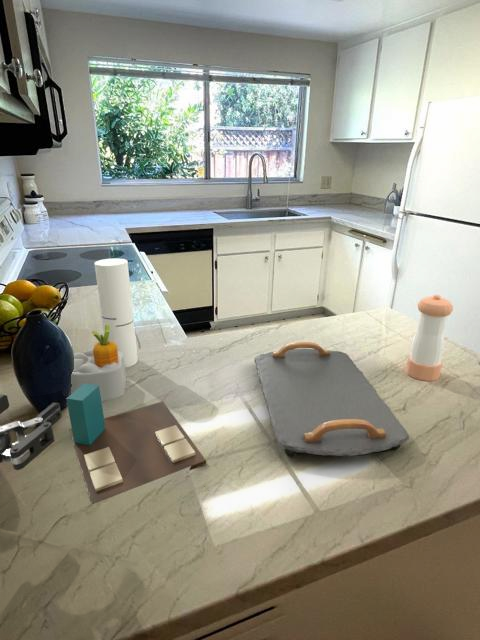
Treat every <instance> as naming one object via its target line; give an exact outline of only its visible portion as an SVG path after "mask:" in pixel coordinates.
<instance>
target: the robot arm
mask: <svg viewBox="0 0 480 640" xmlns="http://www.w3.org/2000/svg"><path fill="white" fill-rule="evenodd" d="M9 408H10V402H9V397H8V395H6V394H0V415H1V414H3V413H4V412H6V411H7V410H8V409H9ZM62 416H63V415H62V410H61V404H60V402H51V404H50V405H48V406H47V407H46V408H45V409H44V410H42V411H41V412H40V413H38V414H37V415H36V416H35V417H34V418H31V419H28V420H25V421H21V420H15V421H12V422H8V423H6V424H0V464H2V463H3V462H6V463H11V464H12V467H13V469H14V471H21V470H22V469H24V468H25V467H26V466H28V465H29V464H30V463H32V461H33V460H35V458H37V457H38V456H39V455H40V454H41V453H43V452H44V451H45V450H46V449H47V448H48V447H50V445H52V444H53V443H54V442H55V435H54V429H53V426H54V425H55V424H56V423H57V422H59V421H60V419H61V418H62ZM32 428H33V430H32V431H30V433H28V434H25V431H28V430H29V429H32ZM12 432H14V433H15V435H16V441H15V442H12V437H11V433H12ZM11 442H12V443H11Z"/></svg>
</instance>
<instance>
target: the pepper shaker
mask: <svg viewBox="0 0 480 640" xmlns="http://www.w3.org/2000/svg"><path fill="white" fill-rule="evenodd" d="M417 309H418V311H419V317H418V322H417V326H416V327H417V328H416V331H415V334H414V336H413V340H412V342H411V345H410V346H411V348H410V354H409V355H408V356H407V361H406V366H405V373H407V375H409V376H410V377H412V378H413V379H416V380H420V381H427V382H428V381H430V382H433V381H437V380H438V379H439V378H440V376H441V371H442V367H443V362H442V357H443V354H444V349H445V330H446V325H447V321H448V316H451V314H452V313H453V311H454V306H453V303H452V302H451V301H450V300H448V299H446V298H444V297H441V295H440V294H433V296H425V297H423V298H421V299H420V300H419V301H418V303H417Z"/></svg>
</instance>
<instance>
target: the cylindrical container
mask: <svg viewBox="0 0 480 640" xmlns="http://www.w3.org/2000/svg"><path fill="white" fill-rule="evenodd" d="M93 266H94V270H95V279H96V285H97V292H98V293H97V294H98V301H99V309H100V315H101V324H102V329H103V330H102V331H103V334H104V333H105V325H109V338H108V341H111V342H114V343H116V345H117V350H118V351H119V352H121V353H123V355H124V364H125V369H126V368H130V367H132V366H134V365H136V364H137V363H138V361H139V358H138V347H137V339H136V329H135V327H136V326H135V320H134V309H133V300H132V299H133V298H132V290H131V281H130V280H131V279H130V271H129V261H128V260H127V259H126V258H118V257H117V258H116V257H115V258H113V257H112V258H103V259H100V260H97V261H94V265H93Z"/></svg>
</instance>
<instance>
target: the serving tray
mask: <svg viewBox="0 0 480 640" xmlns="http://www.w3.org/2000/svg"><path fill="white" fill-rule="evenodd" d="M254 365H255V369H256V371H257V374H258V376H257V377H258V379H259V384H260V388H261V390H262V394H263V396H264V400H265V403H266V408H267V411H268V415H269V418H270V422H271V425H272V429H273V432H274V436H275V440H276V443H277V444H278V446H279V447H280V448H282V449H284V452H285V454H286V456H287V457H288V458H294V457H295V456H296V455H297V453H300V454H301V453H305V454H309V455H316V456H341V457H351V456H361V455H368V454H372V453H377V452H383V451H386V450H391V451H394V452H395V451H398V450H399V449H400V448H401V446H402V445H403V444H405V443H406V442H407V441H408V440H409V439H410V436H409V434H408V432H407V430H406V429H405V427H404V426H403V425H402V423H401V422H400V420H399V419H397V417H396V416H395V414H394V413H393V412H392V410H391V408H390V406H388V404H387V403H386V402H385V401H384V400H383V399H382V398H381V397H380V396H379V394H378V392H377V390H376V389H375V387H374V386H373V384H372V383H370V382H369V380H368V379H367V378H366V376H365V374H364V372H363V371H362V370H360V369H359V367H357V365H356V364H355V363H354V361H353V359H351V357H350V355H348V354H347V353H346V352H344V351H338V350H330V349H324V348H323V347H322V346H321V345H320V344H318V343H316V342H312V341H311V342H310V341H297V342H291V343H287V344H285V345H283V346H282V347H281V348H280V349H278V350H275V351H270V352H266V353H261V354H258V355H256V356H254Z"/></svg>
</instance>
